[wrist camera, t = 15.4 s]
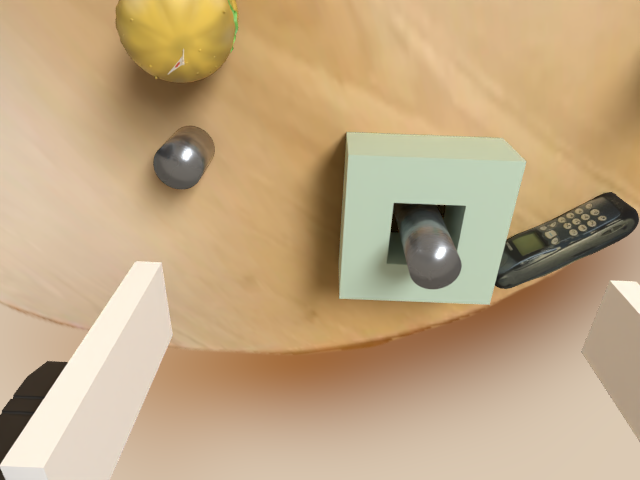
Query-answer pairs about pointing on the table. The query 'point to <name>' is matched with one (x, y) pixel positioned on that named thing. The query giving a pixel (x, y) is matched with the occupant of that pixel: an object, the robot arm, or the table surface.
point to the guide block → (425, 188)
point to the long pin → (427, 245)
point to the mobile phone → (565, 239)
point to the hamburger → (178, 36)
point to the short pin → (184, 157)
